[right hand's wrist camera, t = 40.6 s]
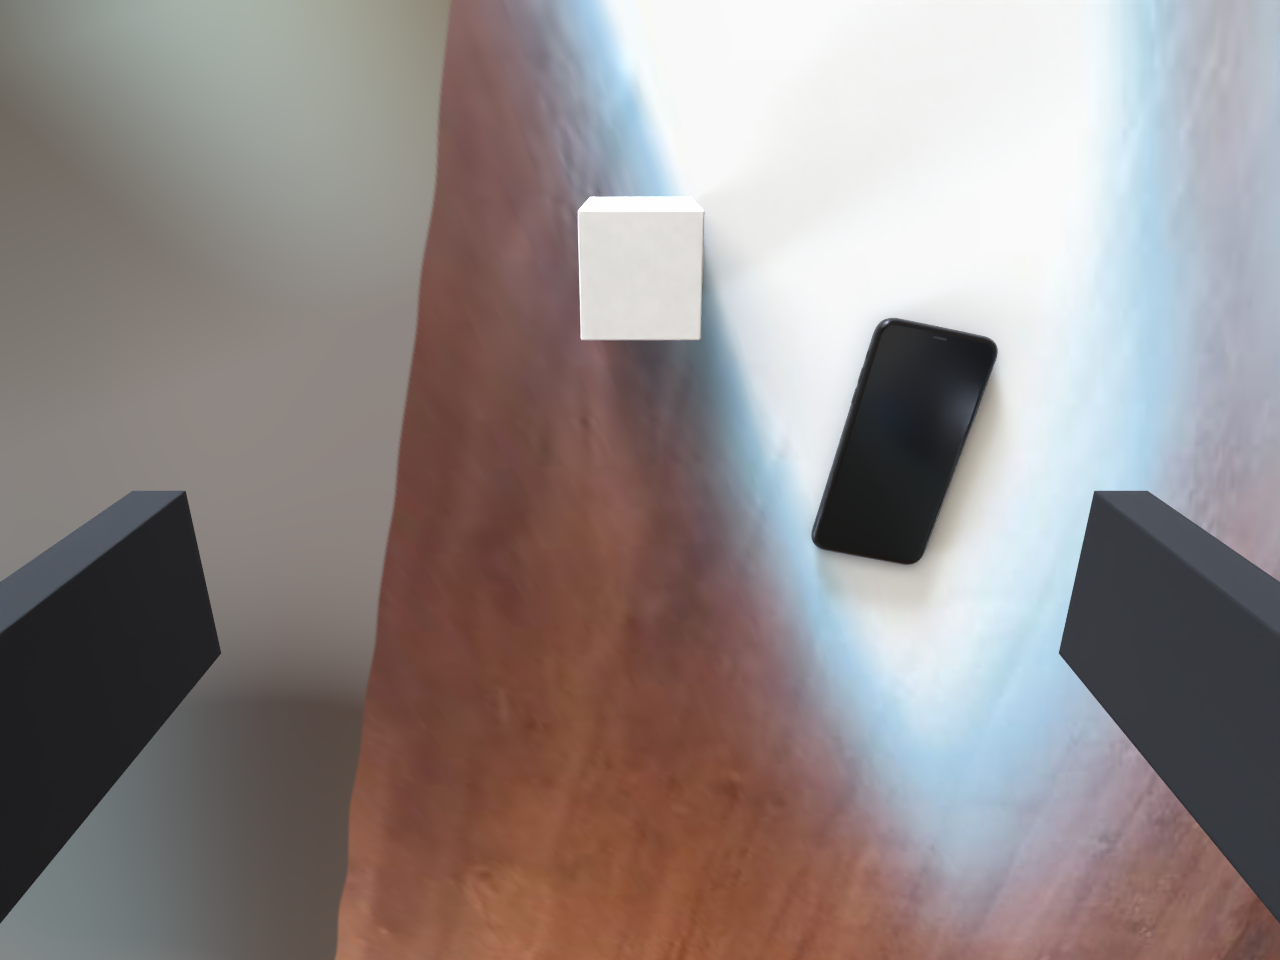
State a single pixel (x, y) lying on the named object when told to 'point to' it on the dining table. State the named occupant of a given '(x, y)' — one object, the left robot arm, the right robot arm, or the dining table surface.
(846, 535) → the smartphone
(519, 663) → the dining table surface
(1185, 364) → the dining table surface
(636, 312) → the block
